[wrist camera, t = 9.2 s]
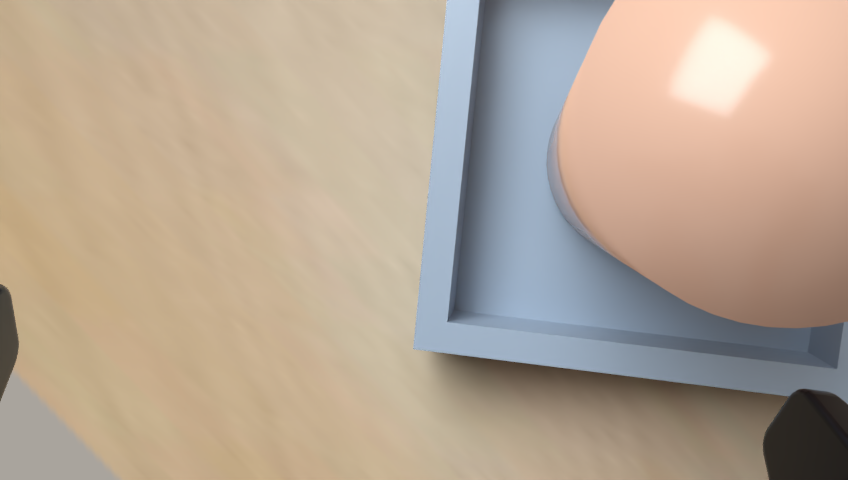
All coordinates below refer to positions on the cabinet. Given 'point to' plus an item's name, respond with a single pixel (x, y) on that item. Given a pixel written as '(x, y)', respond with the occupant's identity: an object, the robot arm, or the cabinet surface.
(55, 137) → the cabinet surface
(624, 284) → the tray
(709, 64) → the peach rounded peg
